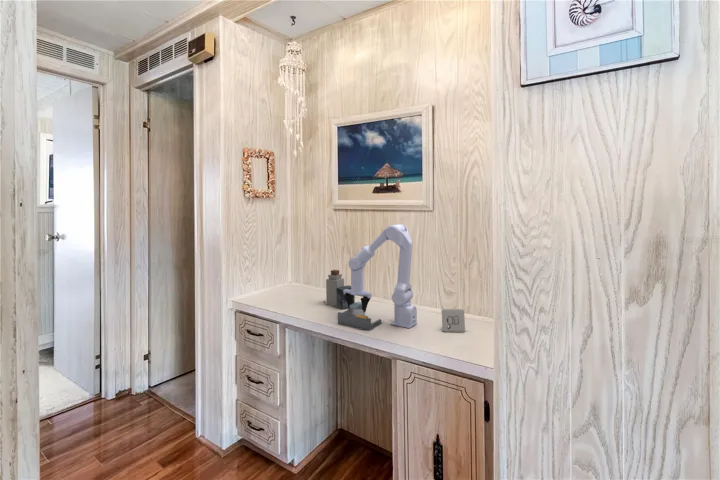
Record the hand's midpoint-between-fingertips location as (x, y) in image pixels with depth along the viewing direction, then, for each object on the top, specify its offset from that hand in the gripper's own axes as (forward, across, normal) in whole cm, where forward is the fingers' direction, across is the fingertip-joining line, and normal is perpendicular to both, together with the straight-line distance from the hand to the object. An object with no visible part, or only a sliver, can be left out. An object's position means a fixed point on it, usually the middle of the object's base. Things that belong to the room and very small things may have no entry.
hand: (357, 310), depth 175 cm
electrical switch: (+3, +44, +6) cm, 45 cm away
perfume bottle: (+3, -21, +10) cm, 24 cm away
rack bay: (+3, +7, -9) cm, 11 cm away
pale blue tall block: (+3, 0, 0) cm, 3 cm away
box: (+3, -13, +8) cm, 16 cm away
